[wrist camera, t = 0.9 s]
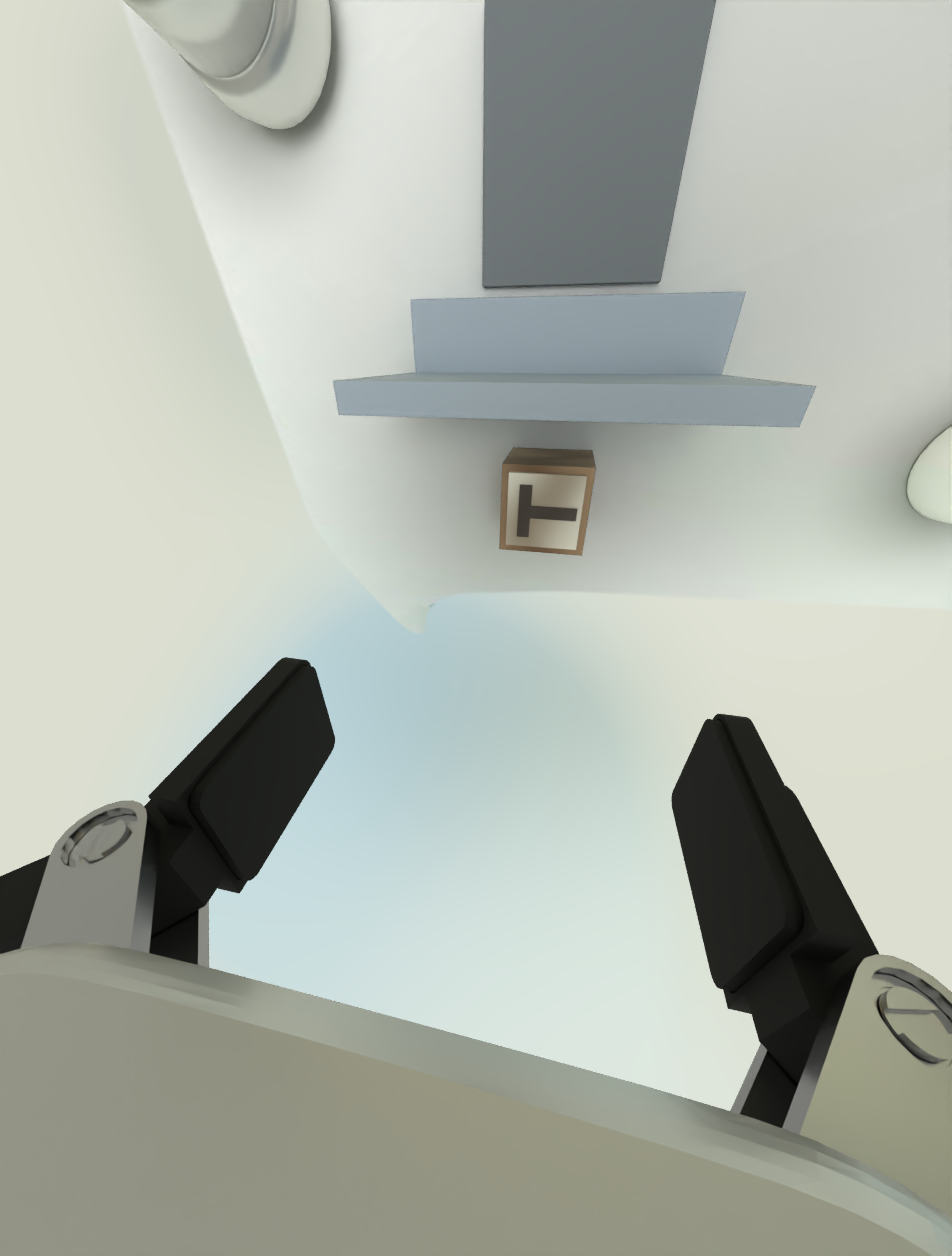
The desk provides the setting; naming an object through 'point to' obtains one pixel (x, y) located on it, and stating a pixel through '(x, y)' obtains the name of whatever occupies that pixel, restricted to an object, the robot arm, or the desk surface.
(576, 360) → the screen
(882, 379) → the desk surface
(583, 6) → the mat
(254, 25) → the plastic bottle
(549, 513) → the letter cube
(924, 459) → the beer glass
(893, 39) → the desk surface
